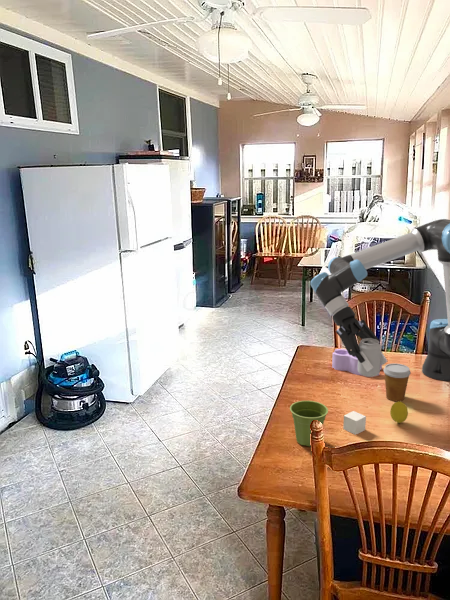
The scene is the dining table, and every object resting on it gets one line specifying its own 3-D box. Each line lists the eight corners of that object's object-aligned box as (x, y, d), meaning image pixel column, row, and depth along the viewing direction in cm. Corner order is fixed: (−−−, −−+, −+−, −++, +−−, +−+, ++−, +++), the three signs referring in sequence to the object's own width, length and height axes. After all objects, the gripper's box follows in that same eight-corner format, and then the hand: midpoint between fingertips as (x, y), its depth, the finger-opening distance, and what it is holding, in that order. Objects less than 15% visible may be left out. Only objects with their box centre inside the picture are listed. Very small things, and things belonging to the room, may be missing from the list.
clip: (329, 371, 212) (330, 356, 210) (336, 361, 222) (336, 346, 221) (378, 378, 203) (379, 362, 202) (382, 367, 214) (383, 352, 212)
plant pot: (313, 455, 150) (314, 421, 147) (282, 442, 158) (282, 409, 155) (334, 439, 158) (335, 407, 155) (303, 427, 166) (303, 396, 163)
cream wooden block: (352, 424, 167) (353, 410, 166) (365, 430, 164) (365, 416, 162) (343, 429, 164) (343, 415, 163) (355, 435, 161) (356, 421, 159)
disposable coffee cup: (414, 400, 183) (416, 370, 180) (392, 405, 180) (394, 374, 177) (397, 390, 191) (399, 361, 188) (376, 394, 188) (378, 365, 185)
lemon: (408, 427, 164) (409, 405, 162) (390, 426, 165) (392, 404, 163) (405, 419, 169) (407, 398, 167) (388, 418, 170) (390, 397, 168)
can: (364, 367, 177) (366, 335, 174) (384, 373, 172) (385, 340, 169) (353, 373, 172) (354, 341, 169) (372, 379, 167) (373, 346, 164)
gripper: (352, 311, 186) (387, 363, 177) (315, 323, 174) (352, 379, 165) (364, 300, 180) (402, 353, 172) (327, 311, 168) (366, 369, 160)
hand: (377, 366), depth 169 cm, fingers closed on can, 7 cm apart
